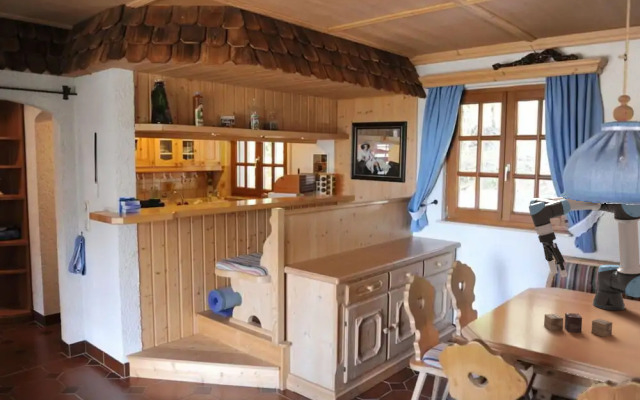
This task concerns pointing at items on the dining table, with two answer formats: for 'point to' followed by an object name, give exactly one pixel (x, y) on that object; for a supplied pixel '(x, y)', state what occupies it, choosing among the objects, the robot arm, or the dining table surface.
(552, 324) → the marked block two
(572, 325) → the box
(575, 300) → the dining table surface
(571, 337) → the dining table surface
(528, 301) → the dining table surface
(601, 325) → the marked block one
